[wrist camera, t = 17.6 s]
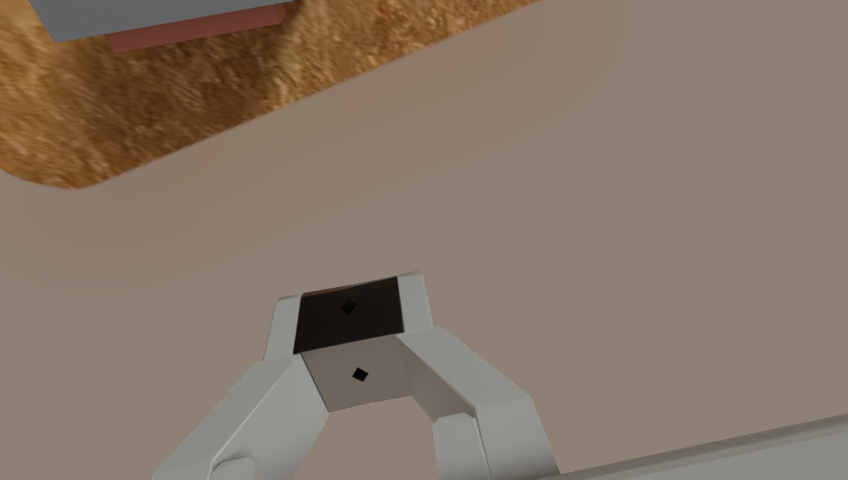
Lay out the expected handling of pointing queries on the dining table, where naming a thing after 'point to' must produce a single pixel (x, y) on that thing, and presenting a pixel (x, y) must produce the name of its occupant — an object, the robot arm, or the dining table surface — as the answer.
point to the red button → (196, 28)
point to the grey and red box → (126, 14)
